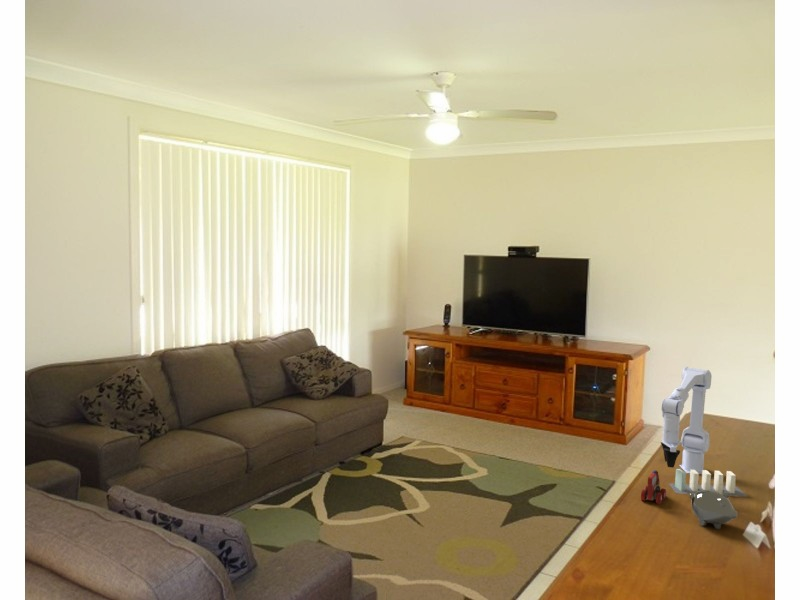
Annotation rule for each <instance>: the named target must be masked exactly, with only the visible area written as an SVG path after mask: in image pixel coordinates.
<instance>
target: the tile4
mask: <svg viewBox="0 0 800 600" xmlns="http://www.w3.org/2000/svg"><path fill="white" fill-rule="evenodd" d="M713 485H714V489H715V490H716V491H717V492H719V493H722V489H723V486H724V474H723V473H722V472H721V471H720V470H714V476H713Z"/></svg>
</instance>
